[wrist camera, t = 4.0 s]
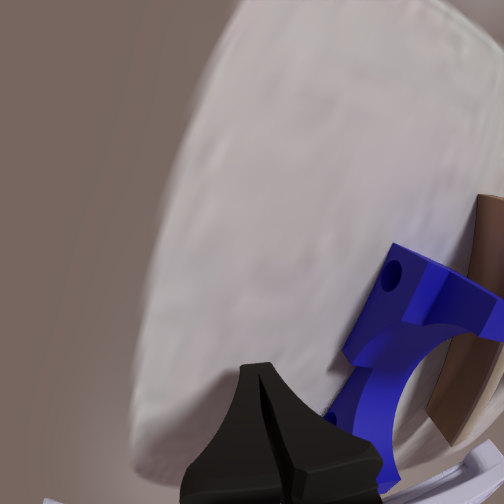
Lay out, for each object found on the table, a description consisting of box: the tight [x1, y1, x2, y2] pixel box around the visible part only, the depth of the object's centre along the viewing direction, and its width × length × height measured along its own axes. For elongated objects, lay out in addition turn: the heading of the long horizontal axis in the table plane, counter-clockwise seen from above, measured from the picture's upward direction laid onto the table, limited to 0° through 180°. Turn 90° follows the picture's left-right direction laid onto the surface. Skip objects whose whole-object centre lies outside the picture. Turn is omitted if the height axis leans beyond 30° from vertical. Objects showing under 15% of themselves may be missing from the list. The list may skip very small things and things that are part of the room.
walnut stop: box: [425, 194, 504, 447], centre depth 13 cm, size 2×16×4 cm, turn 3°
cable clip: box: [323, 243, 504, 494], centre depth 12 cm, size 12×4×6 cm, turn 161°
